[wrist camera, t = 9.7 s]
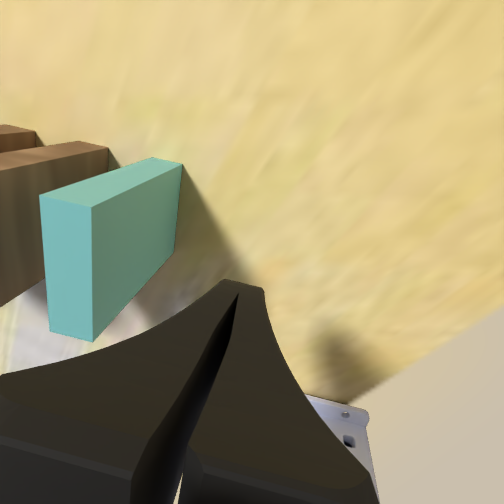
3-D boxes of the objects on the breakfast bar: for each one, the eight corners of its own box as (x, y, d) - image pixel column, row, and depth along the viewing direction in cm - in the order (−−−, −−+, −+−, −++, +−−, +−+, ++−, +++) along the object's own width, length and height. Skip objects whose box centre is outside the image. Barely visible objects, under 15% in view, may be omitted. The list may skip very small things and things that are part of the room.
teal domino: (182, 164, 17) (91, 207, 10) (173, 252, 19) (92, 342, 12) (152, 157, 17) (39, 195, 10) (146, 246, 19) (49, 331, 12)
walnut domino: (108, 147, 17) (-36, 178, 10) (107, 236, 19) (-12, 315, 12) (78, 140, 17) (-86, 166, 10) (80, 230, 19) (-54, 304, 12)
